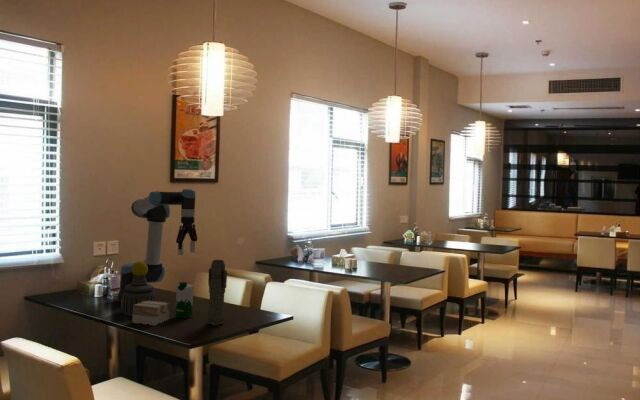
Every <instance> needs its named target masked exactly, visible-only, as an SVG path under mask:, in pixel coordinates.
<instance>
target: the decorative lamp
mask: <svg viewBox="0 0 640 400" xmlns="http://www.w3.org/2000/svg"><path fill="white" fill-rule="evenodd" d="M133 263H134V264H133V266H132V273H133V274H134V276H133V277H134V278H133V280H132V281H133V282H132V283H131V284H129V285H127V286H125V291H123V294H122V300H121V302H120V303H121V306H120V307H121V308H120V310H121V312H122V314H123V315H125V316H129V317H133V305H135V304H138V303H142V302H145V301H148V300H149V301H157V299H156V291H155V290H154V286H153V285H152V284H150V283H147V282H146V278H145V277H146V276H145V275H146V273H147V271H148V267H147V264H146V263H144V262H143V261H142V260H141V261H136V262H133Z"/></svg>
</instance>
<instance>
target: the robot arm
mask: <svg viewBox="0 0 640 400" xmlns="http://www.w3.org/2000/svg"><path fill="white" fill-rule="evenodd" d="M196 197H197V196H196V190H195V189H189V188H188V189H187V188H185V189H184V188H183V189H181V191H157V190H156V191H150V192H149V194H148V196H147V197H144V198H138V199H135V200H134V201H133V202H132V204H131V208H130V209H131V210H130V211H131V212H132V213H133V215H134V216H136V217H137V218H141V219H146V221H147V223H148V231H147V241H146V253H145V259H144V260H143V261H142V262H144V263H146V264H147V267H148V271H147V273H146V275H145V276H146V277H145V278H146V282H147V284H150V283H153V284H154V283H159V282H162V280H163V279H164V277H165V272H166V270H165V265H164V264H163V262H162V260H161V249H162V237H163V236H162V235H163V226H164V225H163V224H165V223H166V219H168V218H170V215H171V210H170V209H171V208H170V206H181V207H180V208H181V212H180V216H181V217H180V224H182V225H179V229H178V233H177V236H176V239H175V242H176V244H177V246H178V248H177V255H178V256H183V255H184V241H185V238H186V236H187V234H188V236H189V239H190V242H189V243H190V244H189V253H195V252H196V242H198V235H197V230H196V224H195V217H194V216H196V215H195V213H196V210H195V209H196ZM134 263H135V262H129V263H125V264H123V265H121V267H120V271H119V273H120V282H119V283H120V285H119V291H118V293H117V297H116V302H118V303H121V300H122V294H123V291H125V286H127V285H129V284H131V283H132V282H133V281H132V280H133V278H134V277H133V276H134V274H133V273H132V266H133V264H134Z"/></svg>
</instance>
